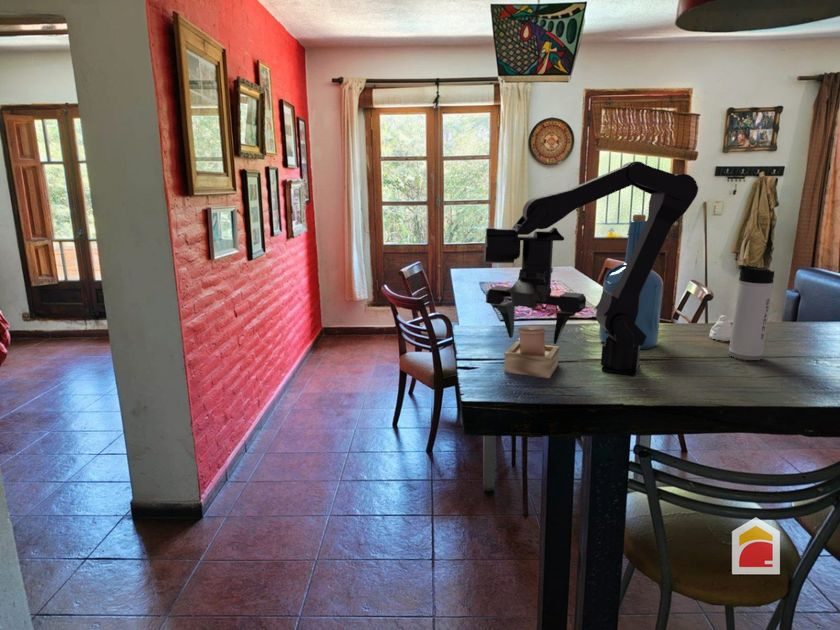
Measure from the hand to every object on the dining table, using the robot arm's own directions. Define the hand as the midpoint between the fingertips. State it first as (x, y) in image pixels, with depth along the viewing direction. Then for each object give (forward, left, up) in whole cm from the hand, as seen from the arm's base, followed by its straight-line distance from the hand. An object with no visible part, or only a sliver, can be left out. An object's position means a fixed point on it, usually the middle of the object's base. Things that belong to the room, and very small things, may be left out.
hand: (532, 340), depth 108 cm
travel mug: (-38, -30, -6) cm, 49 cm away
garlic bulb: (-34, -44, -6) cm, 56 cm away
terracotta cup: (0, 0, -2) cm, 3 cm away
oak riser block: (0, 0, -6) cm, 6 cm away
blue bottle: (-14, -29, -6) cm, 33 cm away
